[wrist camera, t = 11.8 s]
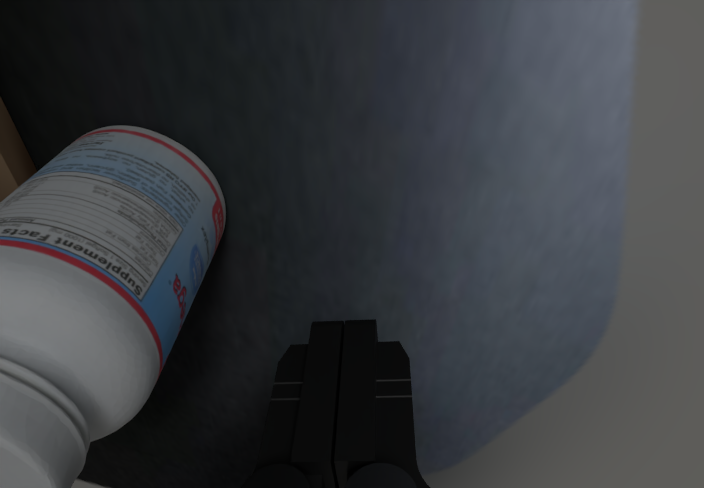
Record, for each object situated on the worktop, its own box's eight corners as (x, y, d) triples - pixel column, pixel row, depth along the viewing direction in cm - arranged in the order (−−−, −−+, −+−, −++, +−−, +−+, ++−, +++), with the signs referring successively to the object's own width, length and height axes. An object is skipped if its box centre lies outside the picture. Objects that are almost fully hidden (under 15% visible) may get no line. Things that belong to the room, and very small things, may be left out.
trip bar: (-57, 42, 16) (-86, 52, 15) (-28, 40, 16) (-54, 50, 15) (88, 319, 23) (76, 338, 22) (109, 318, 23) (97, 337, 22)
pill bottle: (183, 283, 21) (39, 579, 12) (42, 203, 19) (-258, 486, 10) (261, 187, 19) (147, 479, 9) (104, 81, 17) (-232, 323, 7)
